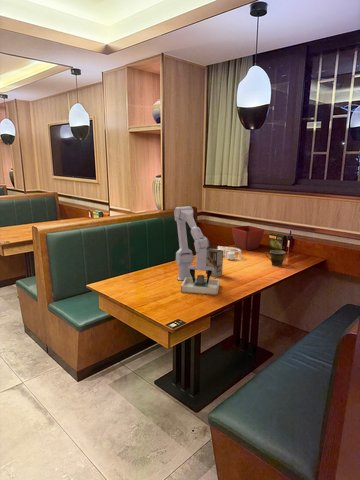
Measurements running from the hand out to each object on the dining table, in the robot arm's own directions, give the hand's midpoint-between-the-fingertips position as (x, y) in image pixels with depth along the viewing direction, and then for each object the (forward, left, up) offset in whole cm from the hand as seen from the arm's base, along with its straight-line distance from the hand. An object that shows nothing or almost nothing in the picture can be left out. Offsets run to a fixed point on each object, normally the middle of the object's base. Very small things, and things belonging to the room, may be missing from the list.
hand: (200, 282), depth 191 cm
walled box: (0, 0, -3) cm, 3 cm away
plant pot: (-96, +25, -4) cm, 100 cm away
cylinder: (0, 0, -3) cm, 3 cm away
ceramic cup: (-52, +44, -4) cm, 69 cm away
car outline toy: (-65, +11, -4) cm, 66 cm away
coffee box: (-26, +5, -4) cm, 26 cm away
